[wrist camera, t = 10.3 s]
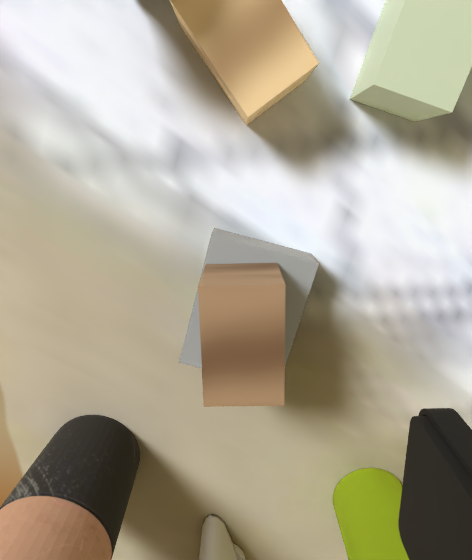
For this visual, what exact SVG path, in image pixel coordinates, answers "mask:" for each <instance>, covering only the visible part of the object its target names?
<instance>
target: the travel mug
mask: <svg viewBox="0 0 472 560" xmlns="http://www.w3.org/2000/svg"><path fill="white" fill-rule="evenodd" d="M139 459H140V457H139V447H138V444H137V442H136V440H135V438H134V436H133V435H132V433H131V432H130V431H129V430H128V429H127V428H126V427H125V426H124V425H122V424H121V423H119V422H117V421H116V420H114V419H111V418H108V417H105V416H100V415H85V416H80V417H77V418H74V419H72V420H70V421H69V422H67V423H66V424H64V425H63V426H62V427H61V428H60V429H59V430H58V432H57V433H56V434H55V435H54V436H53V438H52V439H51V440H50V442H49V443H48V444H47V446H46V447H45V448H44V450H43V451H42V452H41V454H40V455H39V456H38V458H37V459H36V460H35V462H34V463H33V464H32V466H31V467H30V468H29V470H28V471H27V472H26V474H25V475H24V476H23V478H22V479H21V480H20V482H19V483H18V484H17V486H16V487H15V488H14V490H13V491H12V492H11V494H10V495H9V496H8V498H7V499H6V500H5V502H4V503H3V504H2V506H1V507H0V560H111V559H112V555H113V552H114V549H115V545H116V542H117V538H118V535H119V531H120V528H121V524H122V521H123V518H124V514H125V511H126V507H127V504H128V500H129V497H130V493H131V490H132V487H133V483H134V480H135V476H136V472H137V469H138V465H139Z"/></svg>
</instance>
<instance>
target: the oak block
mask: <svg viewBox="0 0 472 560" xmlns="http://www.w3.org/2000/svg"><path fill="white" fill-rule="evenodd" d="M170 3H171V5H172V7H173V10H174V12H175V15H176V17H177V19H178V22H179V24H180V26H181V28H182V30H183V31H184V33H185V34H186V36H187V37H188V39H189V40H190V42H191V43H192V45H193V46H194V48H195V49H196V51H197V52H198V54H199V55H200V57H201V58H202V60H203V61H204V63H205V64H206V66H207V67H208V69H209V70H210V72H211V73H212V75H213V76H214V78H215V79H216V81H217V82H218V84H219V85H220V87H221V88H222V90H223V91H224V93H225V94H226V96H227V97H228V99H229V100H230V102H231V103H232V105H233V106H234V108H235V109H236V111H237V112H238V114H239V115H240V117H241V118H242V120H243V121H244V123H245V124H246V125H248V124H249V123H250V122H252V121H253V120H254V119H256V118H257V117H258V116H260V115H261V114H262V113H264V112H265V111H266V110H268V109H269V108H270V107H271V106H273V105H274V104H275V103H277V102H278V101H279V100H281V99H282V98H283V97H285V96H286V95H287V94H289V93H290V92H291V91H293V90H294V89H295V88H297V87H298V86H299V85H301V84H302V83H303V82H305V80H306V79H307V78H308V77H309V75H310V74H311V73H312V71H313V70H314V69H315V68H316V66H317V65H318V64H319V62H318V61H317V59H316V57H315V56H314V54H313V52H312V51H311V49H310V47H309V46H308V44H307V42H306V41H305V39H304V37H303V36H302V34H301V32H300V31H299V29H298V27H297V26H296V24H295V22H294V21H293V19H292V17H291V16H290V14H289V12H288V11H287V9H286V7H285V6H284V4H283V2H282V1H281V0H170Z"/></svg>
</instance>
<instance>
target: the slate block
mask: <svg viewBox="0 0 472 560" xmlns="http://www.w3.org/2000/svg"><path fill="white" fill-rule="evenodd" d="M237 263H277V264H278V266H279V269H280V272H281V274H282V277H283V280H284V282H285V285H286V288H285V366H286V363H287V360H288V357H289V354H290V351H291V348H292V344H293V341H294V338H295V335H296V332H297V329H298V326H299V323H300V320H301V317H302V314H303V311H304V308H305V305H306V302H307V299H308V296H309V293H310V290H311V287H312V284H313V281H314V278H315V275H316V271H317V268H318V265H319V263H318V262H317V261H316V259H315V258H314V257H313V256H312V254H310V253H307V252H303V251H299V250H295V249H292V248H288V247H284V246H280V245H277V244H273V243H269V242H265V241H262V240H258V239H254V238H250V237H247V236H243V235H239V234H235V233H232V232H228V231H224V230H220V229H217V228H214V230H213V232H212V235H211V238H210V242H209V246H208V250H207V254H206V258H205V262H204V266H203V270H202V273H203V271H204V268H205V265H206V264H237ZM201 276H202V274H201ZM200 279H201V278H200ZM179 363H182V364H186V365H190V366H194V367H198V368H202V359H201V339H200V319H199V299H198V290H197V294H196V298H195V302H194V305H193V309H192V313H191V317H190V321H189V325H188V329H187V333H186V337H185V341H184V345H183V349H182V353H181V357H180V361H179Z"/></svg>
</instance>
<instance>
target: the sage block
mask: <svg viewBox="0 0 472 560" xmlns="http://www.w3.org/2000/svg"><path fill="white" fill-rule="evenodd" d="M471 68H472V0H386V1H385V4H384V7H383V9H382V12H381V15H380V18H379V20H378V23H377V26H376V29H375V31H374V34H373V37H372V40H371V42H370V45H369V48H368V51H367V53H366V56H365V59H364V61H363V64H362V67H361V70H360V72H359V75H358V78H357V81H356V83H355V86H354V89H353V92H352V94H351V97H350V99H351V100H354V101H357V102H360V103H362V104H365V105H368V106H371V107H374V108H377V109H379V110H382V111H385V112H388V113H391V114H394V115H396V116H399V117H402V118H405V119H408V120H411V121H413V122H417V121H420V120H424V119H428V118H432V117H436V116H440V115H444V114H448V113H452V112H453V110H454V107H455V105H456V103H457V100H458V98H459V96H460V93H461V91H462V89H463V86H464V84H465V82H466V79H467V77H468V75H469V72H470V70H471Z"/></svg>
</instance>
